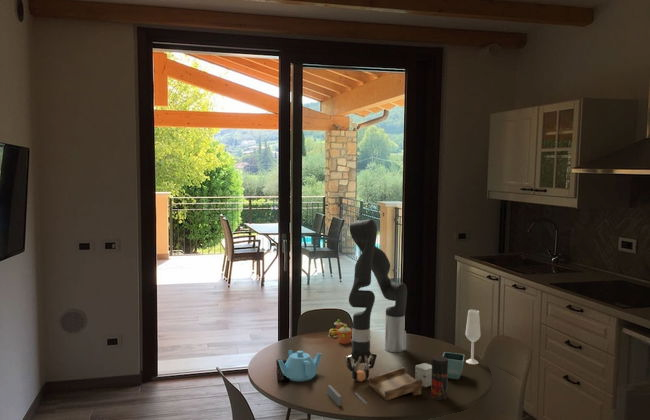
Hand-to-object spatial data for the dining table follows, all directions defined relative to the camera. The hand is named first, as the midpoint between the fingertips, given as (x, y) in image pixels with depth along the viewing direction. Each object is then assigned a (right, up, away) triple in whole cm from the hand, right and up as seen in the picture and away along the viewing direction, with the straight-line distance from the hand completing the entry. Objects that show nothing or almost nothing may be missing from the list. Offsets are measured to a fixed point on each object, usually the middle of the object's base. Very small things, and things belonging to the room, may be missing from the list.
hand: (360, 379), depth 209 cm
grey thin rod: (-2, -2, -15) cm, 15 cm away
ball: (0, +1, 0) cm, 1 cm away
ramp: (+13, -1, -9) cm, 16 cm away
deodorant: (+29, -2, -14) cm, 33 cm away
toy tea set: (-4, +2, +57) cm, 57 cm away
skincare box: (+26, -2, -1) cm, 26 cm away
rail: (-11, -2, -18) cm, 21 cm away
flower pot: (+40, -1, +6) cm, 40 cm away
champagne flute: (+53, 0, +23) cm, 58 cm away
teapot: (-25, 0, +4) cm, 26 cm away
